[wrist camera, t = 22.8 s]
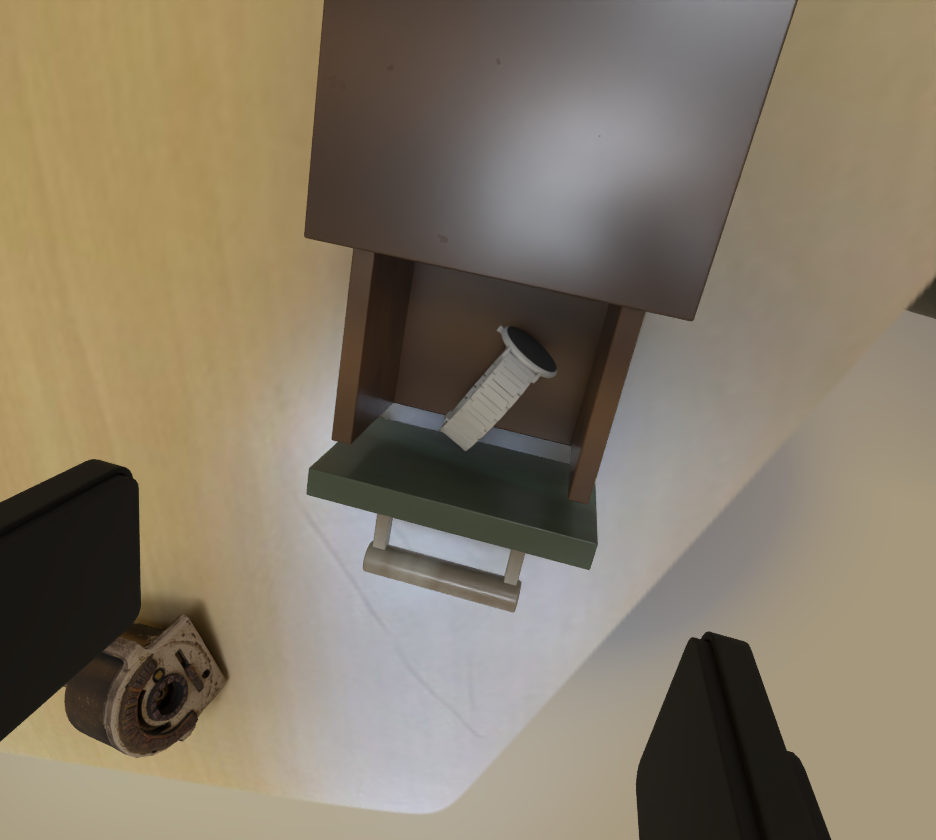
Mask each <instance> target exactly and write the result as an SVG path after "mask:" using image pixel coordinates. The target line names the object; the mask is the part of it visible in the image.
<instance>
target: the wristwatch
mask: <svg viewBox="0 0 936 840" xmlns="http://www.w3.org/2000/svg"><path fill="white" fill-rule="evenodd" d="M497 331H498V332H500V331H501V332H500V333H501V335H502V340H503V342H504V344H505V346H506V348H505V350H504V351H503V353H502V354H501V355H500V356H499V357H498V358H497V359H496V360H495V361H494V364H492V365H491V366H490V367H489V368H488V369H487V371H486V372H485V373H484V374H485V375H486V377H485V376H484V375H482V376H481V378H480V379H479V380H478V381H477V382H476V383H475V385H474V386H476V388H475V387H474V386H473V387H472V388H471V389H470V391H469V392H468V393H467V394H466V395H465V397H466V398H467V399H466V398H465V397H464V398H463V399H462V400H461V401H460V402H459V404H458V405H457V406H456V408H455V409H454V410H453V411H450V412H448V413H447V414H446V415H445V420H446V421H445V423H444V424H443V425H442V427H441V428H440V430H441V431H442V432H443V433H445V434H446V435H447V436H448V437H449V438H451V439H452V440H453V441H454V442H455V443H456V444H458V445H459V446H460V447H461V448H462V449H463V450H465V451H467V450H468V449H469V448H470V447H472V446H473V445H474V444H475V443H476V442H477V441H478V440H479V439H481V438H482V437H483V436H484V435H485V434H486V433H487V432H488V431H489V430H490V429H491V428H492V427H493V426H494V425H495V424H496V423H497V421H499V420H500V419H501V418H502V417H503V415H504V414H505V413H506V412H507V411H508V409H510V408H511V407H512V405H513V404H514V403H515V402H516V401H517V400H518V399H519V397H520V396H521V395H522V394H523V392H524V391H525V390H526V389H527V387H528V386H529V385H530V383H531V382H532V383H535V382H536V381H537V380H538V379H539V377H540V376H541V377H544V378H552V377H554V376H555V375H556V374H557V367H556V364H555V362H554V360H553V358H552V357H551V356H550V354H549V353H548V352H547V351H546V349H545V348H544V347H543V346H542V345H541V344H540V343H539V342H537V341H536V340H535V339H534V338H533V337H531V336H530V335H529V334H527V333H526V332H524V331H523V330H521V329H519V328H516V327H512V326H511V327H510V326H507V327H505V328H503V327H502V326H500V327H499V328H498V329H497ZM489 373H490V374H491V375H490V374H489ZM483 380H484V381H485V382H484V381H483ZM479 384H480V385H481V386H480V385H479ZM483 387H484V388H483ZM506 407H507V408H506Z"/></svg>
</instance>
